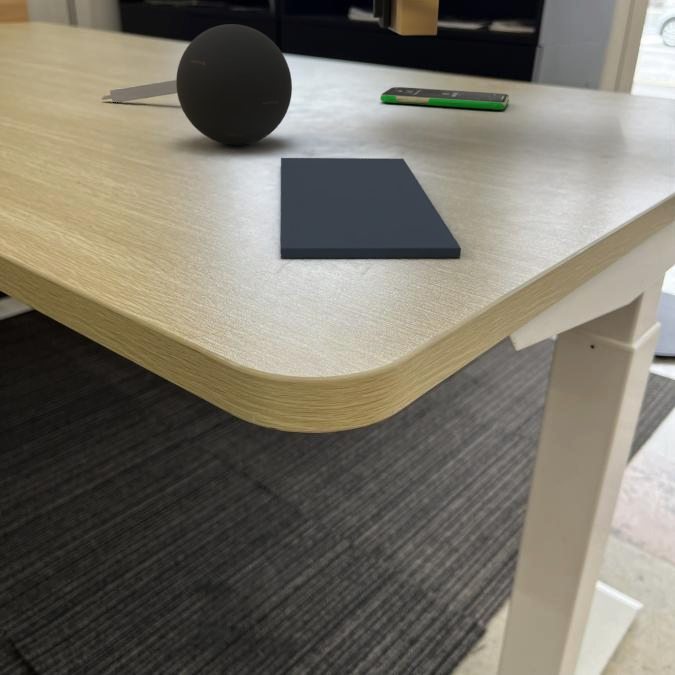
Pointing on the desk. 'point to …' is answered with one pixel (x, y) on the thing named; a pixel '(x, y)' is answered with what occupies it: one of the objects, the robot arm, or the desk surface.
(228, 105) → the speaker
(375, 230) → the mat
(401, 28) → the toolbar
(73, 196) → the desk surface
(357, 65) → the desk surface
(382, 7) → the robot arm
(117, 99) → the caliper
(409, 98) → the smartphone
